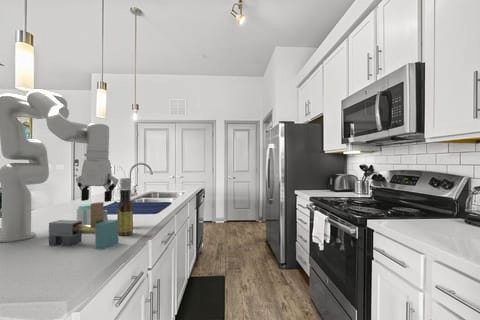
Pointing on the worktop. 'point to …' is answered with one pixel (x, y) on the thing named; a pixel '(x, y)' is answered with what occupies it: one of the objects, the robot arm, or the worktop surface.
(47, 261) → the worktop surface
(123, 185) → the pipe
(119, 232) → the sauce bottle
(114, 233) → the socket block
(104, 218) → the flask
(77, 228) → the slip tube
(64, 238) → the sleeve
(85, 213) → the can
